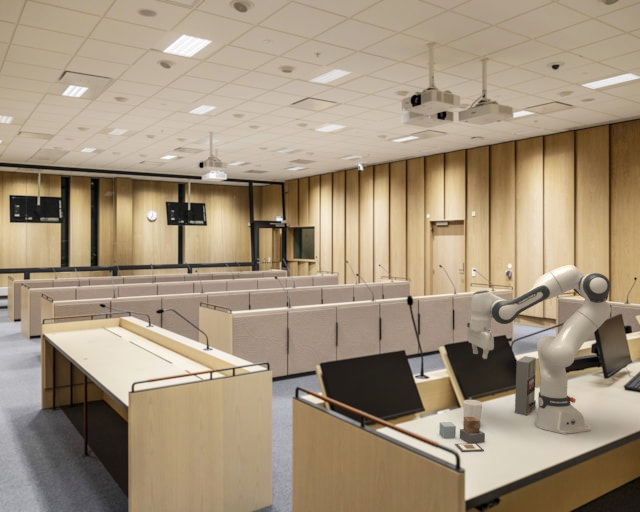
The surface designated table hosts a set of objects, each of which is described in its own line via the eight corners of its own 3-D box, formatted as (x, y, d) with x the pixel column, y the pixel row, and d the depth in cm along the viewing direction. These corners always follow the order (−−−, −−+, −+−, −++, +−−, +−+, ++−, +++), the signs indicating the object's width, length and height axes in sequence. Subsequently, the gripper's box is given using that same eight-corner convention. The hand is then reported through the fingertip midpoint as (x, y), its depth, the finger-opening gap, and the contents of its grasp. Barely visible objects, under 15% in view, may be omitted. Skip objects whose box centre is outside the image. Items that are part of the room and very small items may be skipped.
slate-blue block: (450, 433, 221) (451, 422, 221) (455, 438, 216) (455, 426, 216) (439, 434, 221) (439, 422, 220) (443, 438, 216) (444, 426, 216)
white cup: (468, 428, 228) (469, 405, 227) (459, 422, 235) (460, 400, 235) (484, 427, 230) (485, 404, 229) (474, 420, 237) (475, 399, 237)
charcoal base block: (473, 436, 219) (473, 427, 219) (484, 443, 212) (484, 433, 212) (459, 438, 216) (459, 429, 216) (470, 445, 210) (470, 435, 210)
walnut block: (475, 428, 217) (475, 416, 217) (479, 433, 212) (479, 420, 212) (463, 428, 217) (463, 416, 217) (467, 433, 212) (467, 420, 212)
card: (476, 444, 210) (476, 442, 210) (484, 451, 203) (484, 449, 203) (454, 444, 209) (454, 443, 209) (461, 452, 202) (461, 450, 202)
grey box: (527, 416, 245) (529, 363, 244) (514, 413, 249) (516, 360, 248) (536, 408, 256) (537, 357, 256) (523, 406, 260) (524, 356, 259)
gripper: (498, 329, 230) (497, 361, 230) (477, 322, 250) (476, 351, 251) (484, 330, 229) (483, 361, 230) (464, 322, 249) (464, 351, 250)
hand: (480, 356), depth 240 cm, fingers open, 8 cm apart
